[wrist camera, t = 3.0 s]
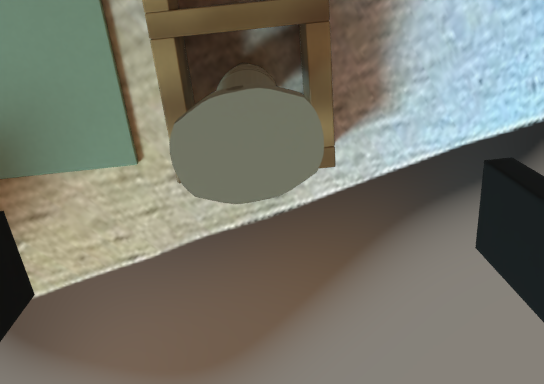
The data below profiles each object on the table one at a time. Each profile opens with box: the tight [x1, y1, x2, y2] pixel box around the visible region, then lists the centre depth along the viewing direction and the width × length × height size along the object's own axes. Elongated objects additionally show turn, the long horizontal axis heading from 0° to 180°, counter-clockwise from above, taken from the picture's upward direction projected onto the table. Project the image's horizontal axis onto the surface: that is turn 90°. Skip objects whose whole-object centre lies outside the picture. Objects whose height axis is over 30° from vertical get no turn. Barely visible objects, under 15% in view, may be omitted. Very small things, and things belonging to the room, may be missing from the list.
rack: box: [142, 0, 335, 183], centre depth 29 cm, size 20×11×4 cm, turn 5°
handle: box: [169, 63, 324, 204], centre depth 25 cm, size 5×6×15 cm
